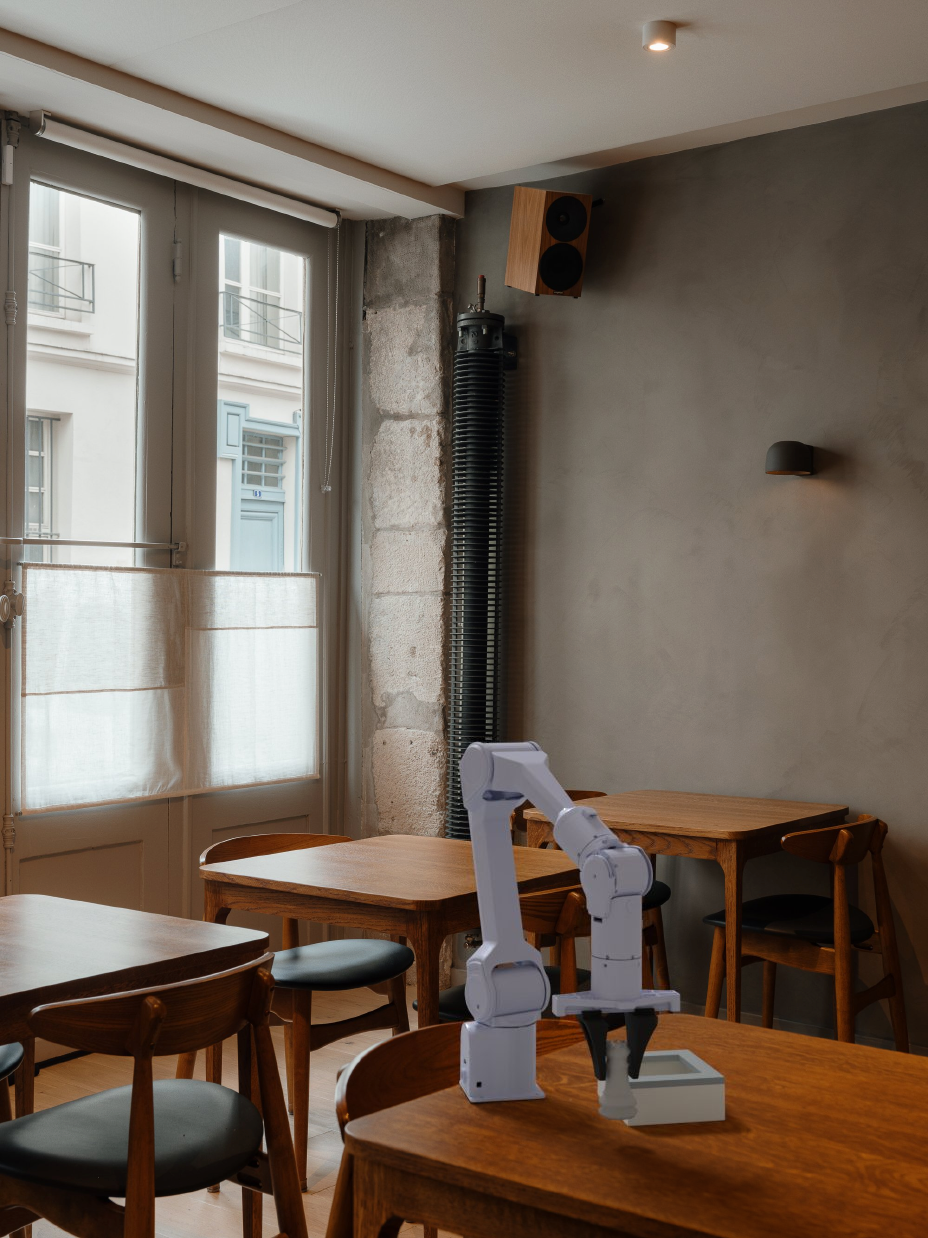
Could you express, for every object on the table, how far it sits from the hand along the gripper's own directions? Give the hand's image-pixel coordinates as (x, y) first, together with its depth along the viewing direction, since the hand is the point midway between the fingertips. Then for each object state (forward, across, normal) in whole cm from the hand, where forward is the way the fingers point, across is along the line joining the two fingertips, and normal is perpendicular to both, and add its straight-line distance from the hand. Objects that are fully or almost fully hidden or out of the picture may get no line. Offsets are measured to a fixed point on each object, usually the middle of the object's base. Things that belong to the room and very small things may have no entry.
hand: (616, 1077), depth 143 cm
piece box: (+7, +9, +11) cm, 16 cm away
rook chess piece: (+4, 0, 0) cm, 4 cm away
